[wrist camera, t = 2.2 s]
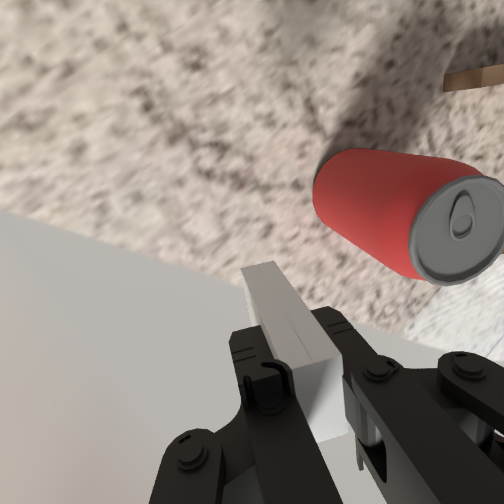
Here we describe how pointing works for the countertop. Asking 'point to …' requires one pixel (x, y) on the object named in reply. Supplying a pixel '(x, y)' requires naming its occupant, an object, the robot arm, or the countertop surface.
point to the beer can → (414, 212)
